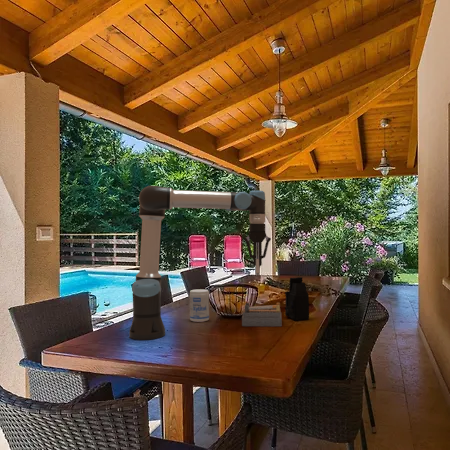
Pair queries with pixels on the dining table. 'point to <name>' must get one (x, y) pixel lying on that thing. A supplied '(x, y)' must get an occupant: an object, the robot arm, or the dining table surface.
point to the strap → (262, 307)
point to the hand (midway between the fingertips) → (257, 272)
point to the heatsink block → (262, 316)
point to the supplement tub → (199, 305)
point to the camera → (297, 300)
